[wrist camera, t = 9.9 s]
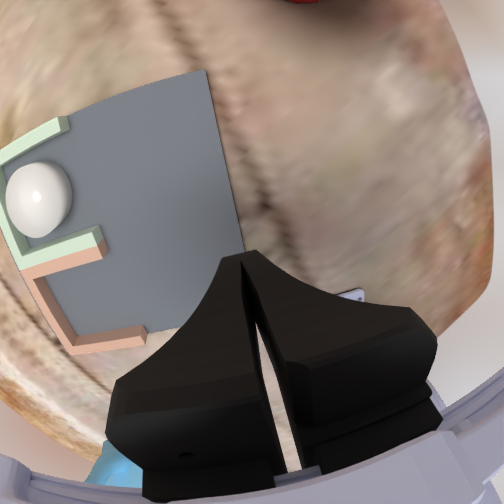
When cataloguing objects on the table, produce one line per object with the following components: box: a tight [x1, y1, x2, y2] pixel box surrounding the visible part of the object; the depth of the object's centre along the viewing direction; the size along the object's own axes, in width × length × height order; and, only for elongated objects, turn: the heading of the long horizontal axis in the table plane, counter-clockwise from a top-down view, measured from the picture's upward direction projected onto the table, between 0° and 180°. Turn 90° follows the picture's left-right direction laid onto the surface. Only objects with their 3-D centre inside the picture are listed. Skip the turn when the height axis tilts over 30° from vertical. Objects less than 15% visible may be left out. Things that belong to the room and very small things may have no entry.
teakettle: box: [84, 440, 143, 488], centre depth 25 cm, size 19×19×15 cm
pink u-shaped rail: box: [20, 238, 147, 355], centre depth 20 cm, size 9×8×1 cm
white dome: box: [6, 160, 73, 238], centre depth 15 cm, size 5×5×2 cm
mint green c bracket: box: [0, 116, 103, 270], centre depth 15 cm, size 9×8×1 cm
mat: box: [0, 69, 245, 347], centre depth 19 cm, size 18×19×1 cm
